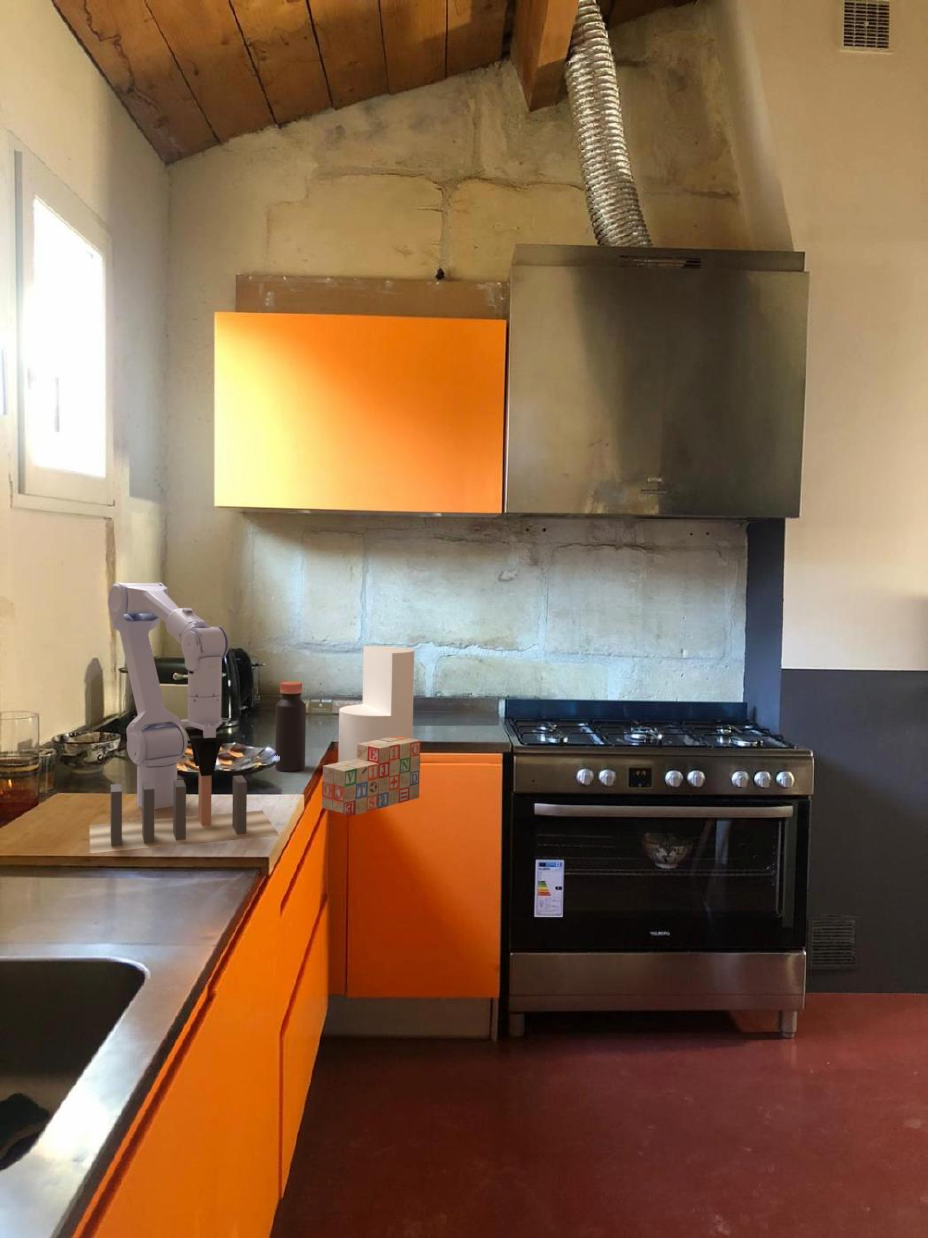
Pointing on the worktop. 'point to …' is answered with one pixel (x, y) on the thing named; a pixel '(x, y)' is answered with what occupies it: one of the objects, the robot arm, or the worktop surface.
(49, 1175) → the worktop surface
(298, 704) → the bottle
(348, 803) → the stack of blocks
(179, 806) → the domino
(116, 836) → the domino
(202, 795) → the domino
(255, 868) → the worktop surface
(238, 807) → the end domino
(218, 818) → the birch board
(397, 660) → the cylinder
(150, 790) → the domino
